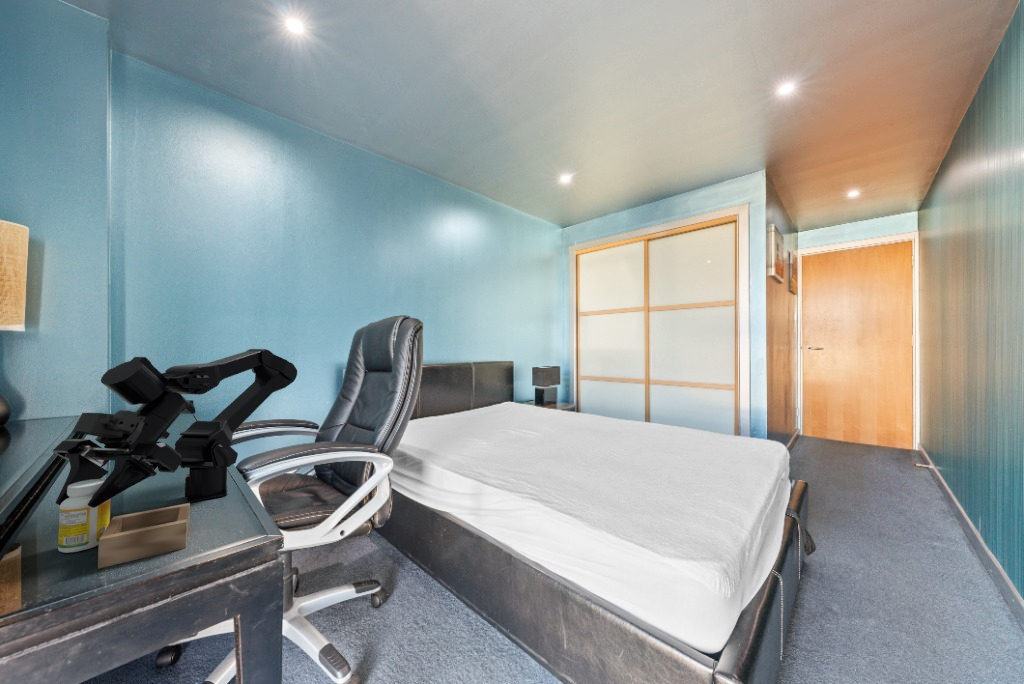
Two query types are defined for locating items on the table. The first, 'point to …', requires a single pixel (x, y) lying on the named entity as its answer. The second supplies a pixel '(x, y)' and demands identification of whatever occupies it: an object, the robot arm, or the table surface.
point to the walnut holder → (144, 535)
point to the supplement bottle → (82, 517)
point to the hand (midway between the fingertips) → (74, 505)
